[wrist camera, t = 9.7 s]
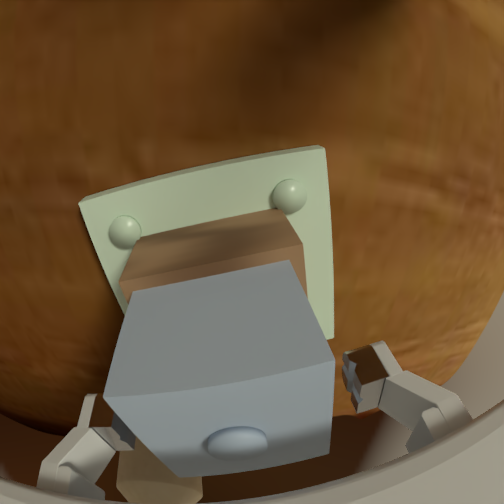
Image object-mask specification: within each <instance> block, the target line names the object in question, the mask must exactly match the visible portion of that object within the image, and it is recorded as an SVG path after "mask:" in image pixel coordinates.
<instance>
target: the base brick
mask: <svg viewBox="0 0 504 504" xmlns="http://www.w3.org/2000/svg"><path fill="white" fill-rule="evenodd" d="M285 260H290V262H291V264H292V266H293V269H294V271H295V273H296V275H297V277H298V279H299V281H300V284H301V286H302V288H303V290H304V292H305V294H306V296H307V299H308V295H307V282H306V271H305V259H304V249H303V243H302V241H301V240H300V238H299V237H298V235H297V233H296V232H295V230H294V228H293V227H292V225H291V224H290V222H289V220H288V219H287V217H286V216H285V214H284V212H283V211H282V209H280V210H279V209H278V208H273V209H267V210H262V211H257V212H252V213H247V214H242V215H238V216H233V217H228V218H223V219H218V220H214V221H209V222H204V223H200V224H195V225H191V226H186V227H182V228H177V229H173V230H168V231H164V232H160V233H155V234H151V235H147V236H142V237H140V239H139V240H137V241H136V243H135V245H134V248H133V250H132V252H131V254H130V256H129V259H128V261H127V263H126V265H125V268H124V270H123V272H122V274H121V277H120V279H119V281H118V283H119V285H120V287H121V290H122V292H123V294H124V296H125V299H126V301H127V303H128V305H129V302H130V299H131V296H132V293H133V291H138V290H143V289H148V288H153V287H158V286H163V285H168V284H173V283H178V282H183V281H188V280H193V279H198V278H203V277H208V276H213V275H218V274H223V273H227V272H232V271H237V270H242V269H247V268H252V267H256V266H261V265H266V264H271V263H275V262H280V261H285Z"/></svg>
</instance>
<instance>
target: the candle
mask: <svg viewBox="0 0 504 504" xmlns="http://www.w3.org/2000/svg"><path fill="white" fill-rule="evenodd" d="M135 436H136V435H135ZM116 486H117V488H118V489H119V491H120V492H121V493H122V494H123V496H124V497H125V498H126V499H127V501H128V502H129V503H141V504H195V503H197V502H198V501H199V500H200V499H201V498H202V496H203V495H202V479H201V476H198V477H180V478H179V477H178V476H177V475H176V474H174V473H173V472H172V471H171V470H170V469H169V468H168V467H167V466H166V465H165V464H164V463H163V462H162V461H160V460H159V459H158V458H157V457H156V456H155V455H154V454H153V453H152V452H151V451H150V450H149V449H148V448H147V447H146V446H145V445H144V444H143V443H142V442H141V440H140V439H139V438H138V437H137V436H136V440H135V449H134V450H128V451H120V456H119V464H118V474H117V485H116Z"/></svg>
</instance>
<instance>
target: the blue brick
mask: <svg viewBox="0 0 504 504" xmlns="http://www.w3.org/2000/svg"><path fill="white" fill-rule="evenodd" d="M334 375H335V358H334V356H333V354H332V352H331V349H330V347H329V345H328V343H327V340H326V338H325V336H324V334H323V331H322V329H321V327H320V325H319V323H318V320H317V318H316V316H315V314H314V312H313V309H312V307H311V305H310V303H309V301H308V299H307V296H306V294H305V292H304V290H303V288H302V286H301V284H300V281H299V279H298V277H297V275H296V273H295V271H294V269H293V266H292V264H291V262H290V260H285V261H280V262H275V263H271V264H266V265H261V266H256V267H252V268H247V269H242V270H237V271H232V272H227V273H223V274H218V275H213V276H208V277H203V278H198V279H193V280H188V281H183V282H178V283H173V284H168V285H163V286H158V287H153V288H148V289H143V290H138V291H133V293H132V296H131V299H130V302H129V305H128V308H127V311H126V314H125V318H124V321H123V324H122V327H121V331H120V334H119V338H118V341H117V345H116V348H115V352H114V355H113V359H112V363H111V366H110V370H109V374H108V378H107V382H106V386H105V390H104V394H103V398H104V400H105V401H106V402H107V403H108V404H109V406H110V407H111V408H112V409H113V410H114V412H115V413H116V414H117V415H118V416H119V417H120V419H121V420H122V421H123V422H124V423H125V424H126V425H127V426H128V428H129V429H130V430H131V431H132V432H133V433H134V434H135V435H136V436H137V437H138V438H139V439H140V440H141V442H142V443H143V444H144V445H145V446H146V447H147V448H148V449H149V450H150V451H151V452H152V453H153V454H154V455H155V456H156V457H157V458H158V459H159V460H160V461H162V462H163V463H164V464H165V465H166V466H167V467H168V468H169V469H170V470H171V471H172V472H173V473H174V474H176V475H177V476H178V477H179V478H180V477H198V476H210V475H220V474H228V473H237V472H244V471H250V470H257V469H263V468H268V467H274V466H278V465H284V464H288V463H293V462H297V461H302V460H306V459H310V458H314V457H317V456H321V455H325V454H328V453H329V447H330V436H331V424H332V411H333V395H334Z"/></svg>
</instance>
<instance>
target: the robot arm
mask: <svg viewBox="0 0 504 504" xmlns="http://www.w3.org/2000/svg"><path fill="white" fill-rule="evenodd" d="M343 362H344V365H343V367H342V377H343V382H344V385H345V387H346V390H347V391H349V392H351V393H352V394H351V401H352V404H353V406H354V408H355V411H356V413H360V412H363V411H366V410H369V409H373V408H376V407H378V408H379V409H381V410H382V411H384V412H385V413H387V414H388V415H390V416H391V417H392V418H394V419H395V420H397V421H398V422H400V423H401V424H403V425H404V426H406V427H407V428H409V429H410V430H412V431H413V432H412V434H411V436H410V438H409V440H408V441H407V443H406V448H407V450H408V452H409V454H406V455H404V456H402V457H399V458H397V459H394V460H392V461H390V462H387V463H385V464H382V465H379V466H377V467H374V468H372V469H369V470H366V471H363V472H360V473H357V474H354V475H351V476H348V477H345V478H342V479H338V480H335V481H332V482H328V483H324V484H321V485H317V486H313V487H309V488H305V489H301V490H296V491H291V492H286V493H281V494H276V495H270V496H264V497H258V498H252V499H244V500H236V501H227V502H215V503H200V504H504V400H502V401H501V402H500V403H498V404H497V405H495V406H494V407H492V408H491V409H489V410H488V411H486V412H485V413H483V414H481V415H480V416H478V417H477V418H475V419H472V417H471V416H470V414H469V413H468V411H467V410H466V408H465V407H464V405H463V403H462V402H461V400H460V398H459V397H458V395H457V394H455V393H453V392H451V391H449V390H447V389H444V388H442V387H440V386H438V385H436V384H434V383H432V382H430V381H428V380H426V379H424V378H421V377H419V376H417V375H415V374H413V373H411V372H409V371H407V370H406V371H402V369H401V367H400V366H399V364H398V362H397V361H396V359H395V358H394V356H393V355H392V353H391V351H390V350H389V348H388V347H387V345H386V343H385V342H384V341H379V342H376V343H373V344H370V345H366V346H363V347H360V348H356V349H353V350H350V351H347V352H344V353H343ZM103 394H104V393H100V394H87V395H86V396H85V399H84V402H83V406H82V410H81V413H80V417H79V421H78V425H77V427H74V428H73V429H72V430H71V431H70V432H69V433H68V434H67V435H66V436H65V437H64V439H63V440H62V441H61V442H60V443H59V444H58V445H57V446H56V447H55V448H54V449H53V450H52V452H50V454H49V455H48V456H47V457H46V458H45V459H44V460H43V461H42V464H41V468H40V473H39V477H38V482H37V487H33V486H29V485H25V484H22V483H19V482H15V481H12V480H9V479H5V478H3V477H0V504H141V503H126V502H114V501H105V492H104V491H103V490H102V489H101V488H99V487H98V486H96V485H95V483H96V481H97V480H98V478H99V477H100V475H101V474H102V472H103V470H104V469H105V468H106V466H107V464H108V463H109V461H110V460H111V458H112V457H113V455H114V454H115V452H116V451H128V450H134V449H135V440H136V436H135V434H134V433H133V432H132V431H131V430H130V429H129V428H128V426H127V425H126V424H125V423H124V422H123V421H122V420H121V419H120V417H119V416H118V415H117V414H116V413H115V412H114V410H113V409H112V408H111V407H110V406H109V404H108V403H107V402H106V401H105V400H104V398H103Z"/></svg>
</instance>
